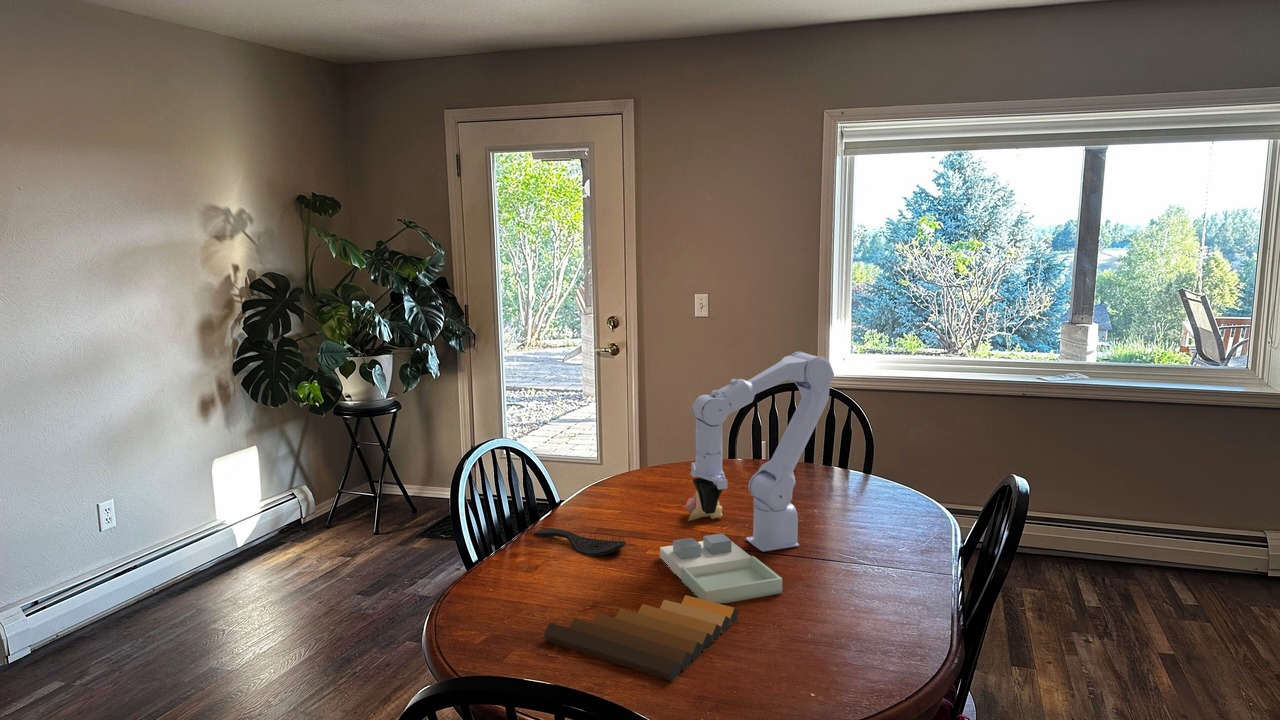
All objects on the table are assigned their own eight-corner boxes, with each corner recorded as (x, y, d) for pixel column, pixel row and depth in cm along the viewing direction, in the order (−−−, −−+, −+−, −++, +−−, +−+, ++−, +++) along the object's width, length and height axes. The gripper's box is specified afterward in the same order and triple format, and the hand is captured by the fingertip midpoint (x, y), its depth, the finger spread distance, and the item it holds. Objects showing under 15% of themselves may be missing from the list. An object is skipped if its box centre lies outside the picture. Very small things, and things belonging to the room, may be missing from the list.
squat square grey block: (722, 544, 174) (722, 533, 173) (731, 551, 170) (731, 540, 169) (703, 547, 172) (703, 536, 172) (712, 554, 168) (712, 543, 168)
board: (727, 548, 178) (727, 537, 178) (752, 568, 167) (752, 557, 167) (659, 558, 173) (659, 547, 173) (681, 580, 162) (681, 568, 161)
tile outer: (692, 548, 172) (692, 537, 171) (701, 556, 167) (701, 545, 167) (673, 551, 170) (673, 540, 170) (681, 559, 166) (681, 548, 166)
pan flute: (544, 645, 138) (670, 686, 125) (543, 626, 137) (670, 666, 124) (623, 590, 159) (738, 621, 146) (622, 574, 158) (738, 603, 145)
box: (753, 569, 167) (753, 555, 166) (782, 593, 156) (782, 578, 155) (681, 581, 161) (681, 567, 161) (705, 606, 150) (705, 591, 150)
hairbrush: (546, 518, 191) (633, 533, 178) (547, 532, 192) (634, 549, 178) (523, 529, 185) (611, 545, 171) (524, 544, 185) (612, 562, 171)
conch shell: (728, 515, 201) (733, 498, 193) (701, 541, 197) (704, 525, 189) (702, 491, 204) (705, 473, 197) (674, 515, 200) (677, 499, 193)
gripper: (678, 444, 178) (678, 503, 180) (705, 461, 164) (705, 525, 166) (707, 441, 180) (707, 500, 182) (736, 458, 166) (736, 521, 168)
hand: (708, 511), depth 174 cm, fingers closed
